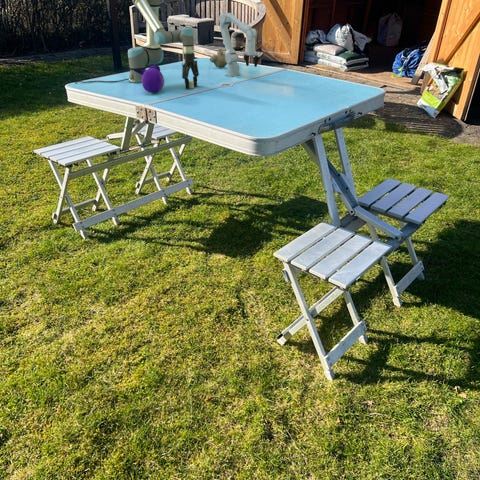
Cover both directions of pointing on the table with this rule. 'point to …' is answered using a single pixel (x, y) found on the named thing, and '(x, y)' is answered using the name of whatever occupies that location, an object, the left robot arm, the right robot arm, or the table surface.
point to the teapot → (219, 59)
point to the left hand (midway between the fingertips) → (191, 87)
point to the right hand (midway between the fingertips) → (251, 66)
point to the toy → (152, 79)
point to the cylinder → (191, 84)
